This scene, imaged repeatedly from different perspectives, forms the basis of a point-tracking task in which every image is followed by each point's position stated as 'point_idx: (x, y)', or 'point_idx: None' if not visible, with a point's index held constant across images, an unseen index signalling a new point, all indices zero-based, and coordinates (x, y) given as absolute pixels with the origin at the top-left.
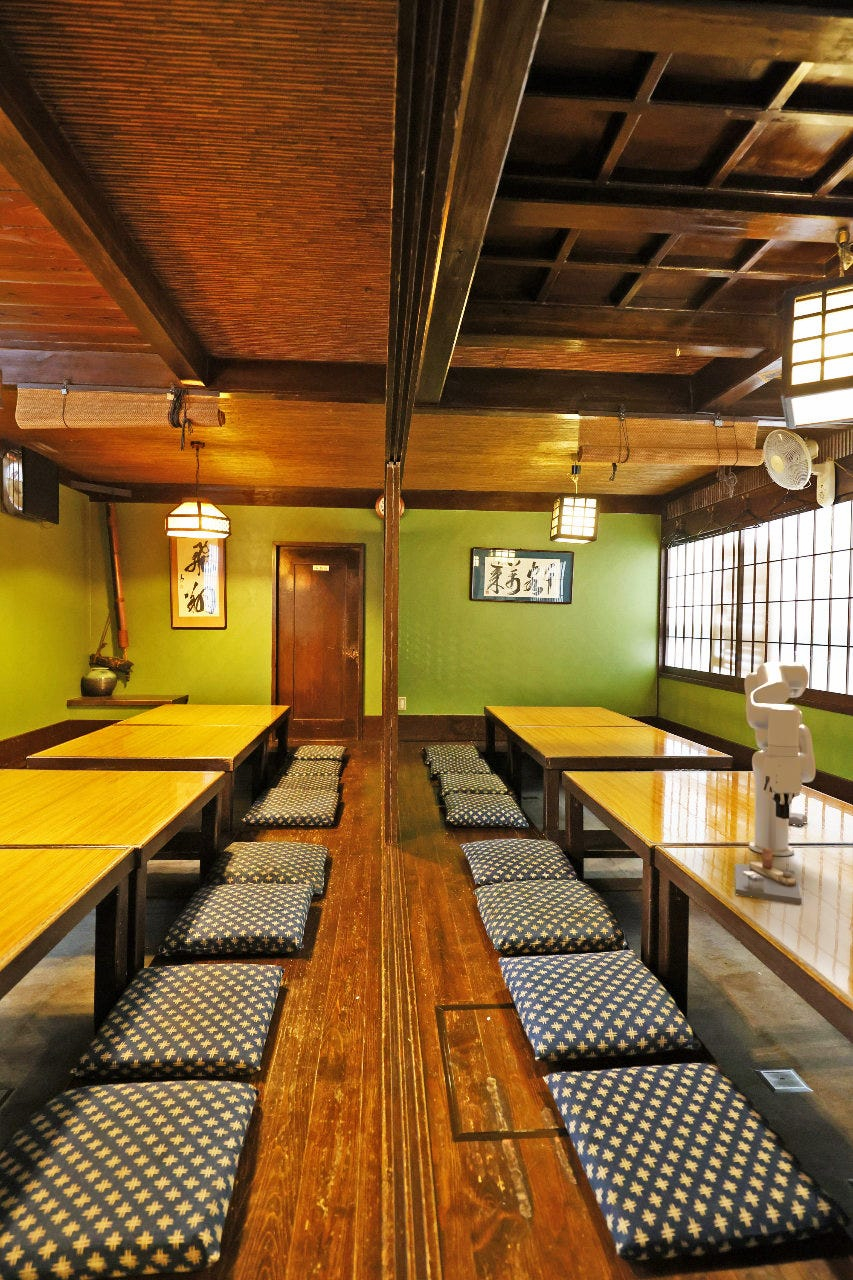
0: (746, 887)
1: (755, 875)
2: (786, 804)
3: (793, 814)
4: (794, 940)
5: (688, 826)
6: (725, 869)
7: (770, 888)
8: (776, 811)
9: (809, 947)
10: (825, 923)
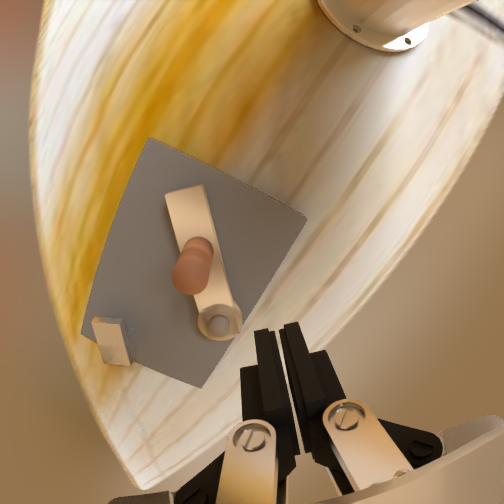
0: None
1: (114, 351)
2: (311, 451)
3: None
4: (132, 450)
5: None
6: (120, 147)
7: (158, 340)
8: (241, 383)
9: (144, 460)
10: (201, 430)
